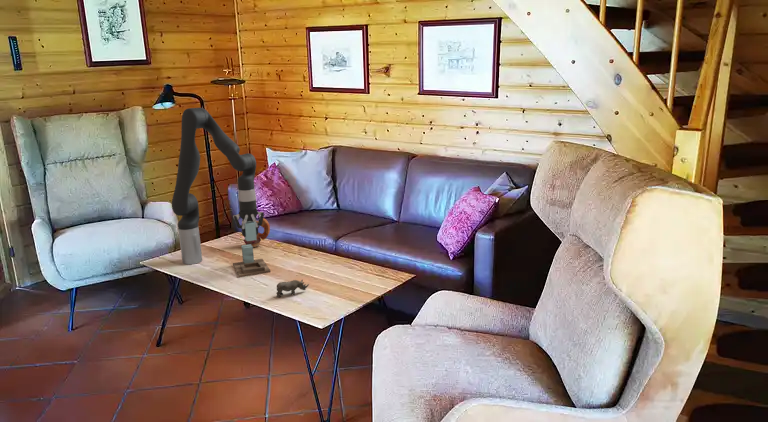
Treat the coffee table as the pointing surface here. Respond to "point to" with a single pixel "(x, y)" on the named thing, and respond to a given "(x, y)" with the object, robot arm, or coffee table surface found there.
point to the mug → (260, 234)
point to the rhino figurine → (290, 287)
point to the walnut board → (250, 263)
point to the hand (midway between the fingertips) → (250, 235)
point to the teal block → (250, 231)
